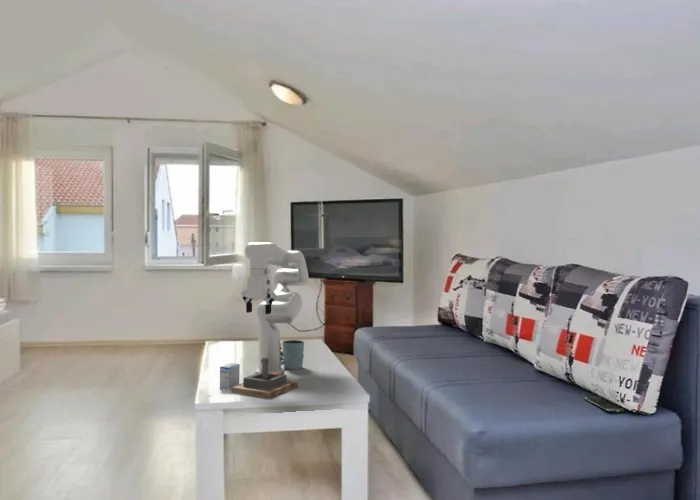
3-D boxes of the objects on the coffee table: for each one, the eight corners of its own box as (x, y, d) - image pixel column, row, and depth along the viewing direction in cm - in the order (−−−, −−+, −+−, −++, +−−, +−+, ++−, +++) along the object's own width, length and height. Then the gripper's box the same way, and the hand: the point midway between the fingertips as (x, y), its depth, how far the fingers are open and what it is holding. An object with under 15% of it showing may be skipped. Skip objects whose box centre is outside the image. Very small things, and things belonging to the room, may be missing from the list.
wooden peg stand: (260, 381, 246) (261, 350, 246) (297, 386, 238) (297, 354, 238) (230, 392, 228) (230, 359, 228) (269, 398, 220) (269, 364, 220)
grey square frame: (266, 377, 244) (266, 370, 244) (290, 380, 239) (290, 373, 239) (243, 385, 230) (243, 378, 230) (268, 389, 225) (268, 381, 225)
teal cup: (300, 370, 266) (300, 343, 266) (278, 368, 268) (279, 342, 268) (306, 365, 276) (306, 340, 276) (285, 364, 278) (286, 339, 278)
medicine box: (230, 383, 242) (230, 362, 241) (239, 384, 240) (239, 363, 240) (219, 388, 234) (219, 366, 234) (229, 389, 233) (229, 367, 232)
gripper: (281, 272, 246) (280, 313, 247) (247, 271, 254) (247, 310, 254) (270, 273, 240) (270, 315, 240) (236, 272, 247) (236, 312, 248)
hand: (258, 313), depth 247 cm, fingers open, 9 cm apart
